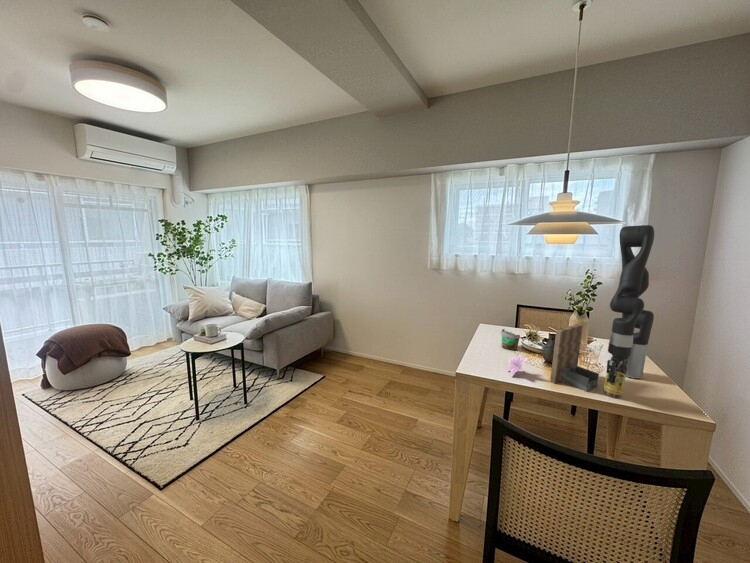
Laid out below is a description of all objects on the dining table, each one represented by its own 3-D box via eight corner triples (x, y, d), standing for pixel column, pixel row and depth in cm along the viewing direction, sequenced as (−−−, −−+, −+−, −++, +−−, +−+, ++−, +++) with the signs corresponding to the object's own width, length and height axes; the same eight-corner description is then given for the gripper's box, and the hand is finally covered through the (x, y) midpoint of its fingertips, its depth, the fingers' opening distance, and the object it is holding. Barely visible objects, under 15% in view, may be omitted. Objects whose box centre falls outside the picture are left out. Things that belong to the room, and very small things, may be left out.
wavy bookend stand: (572, 372, 150) (578, 324, 145) (602, 383, 139) (609, 331, 135) (550, 381, 139) (556, 330, 135) (580, 394, 128) (588, 339, 124)
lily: (509, 368, 155) (502, 353, 153) (534, 365, 149) (527, 349, 147) (508, 384, 146) (501, 369, 143) (534, 382, 139) (527, 366, 137)
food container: (494, 345, 184) (496, 329, 182) (502, 344, 186) (503, 328, 184) (511, 352, 173) (513, 336, 171) (519, 351, 175) (520, 335, 173)
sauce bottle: (601, 394, 129) (608, 350, 126) (604, 389, 133) (610, 347, 130) (621, 400, 124) (628, 355, 121) (623, 395, 128) (630, 351, 125)
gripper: (617, 337, 132) (611, 373, 134) (602, 343, 124) (596, 381, 127) (638, 343, 125) (632, 380, 128) (624, 349, 118) (617, 388, 121)
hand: (614, 380), depth 128 cm, fingers closed on sauce bottle, 6 cm apart
